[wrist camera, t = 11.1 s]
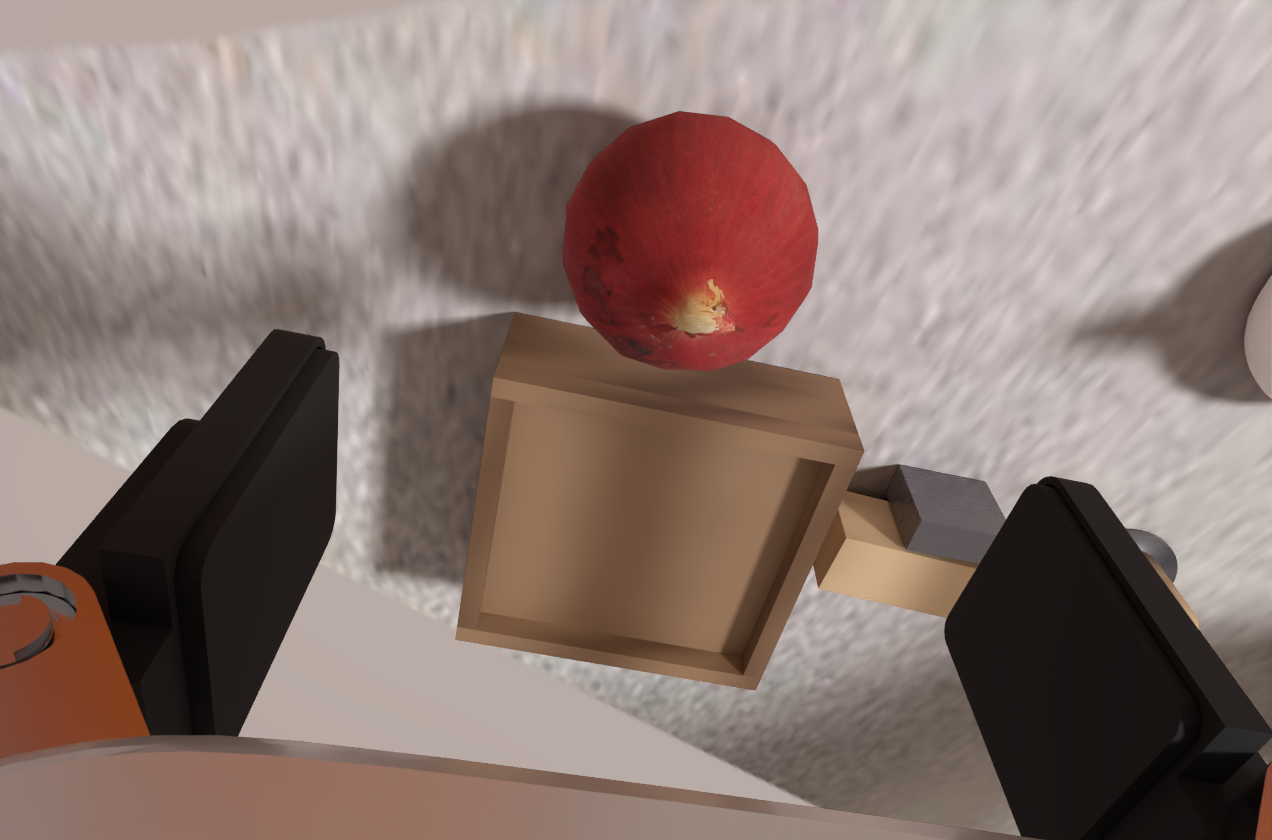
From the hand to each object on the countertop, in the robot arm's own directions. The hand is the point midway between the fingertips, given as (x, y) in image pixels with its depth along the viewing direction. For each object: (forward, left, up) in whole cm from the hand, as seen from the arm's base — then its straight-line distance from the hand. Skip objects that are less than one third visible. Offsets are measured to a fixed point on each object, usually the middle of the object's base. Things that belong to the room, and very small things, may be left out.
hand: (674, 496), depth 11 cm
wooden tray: (-1, +10, -13) cm, 16 cm away
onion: (0, 0, -14) cm, 14 cm away
